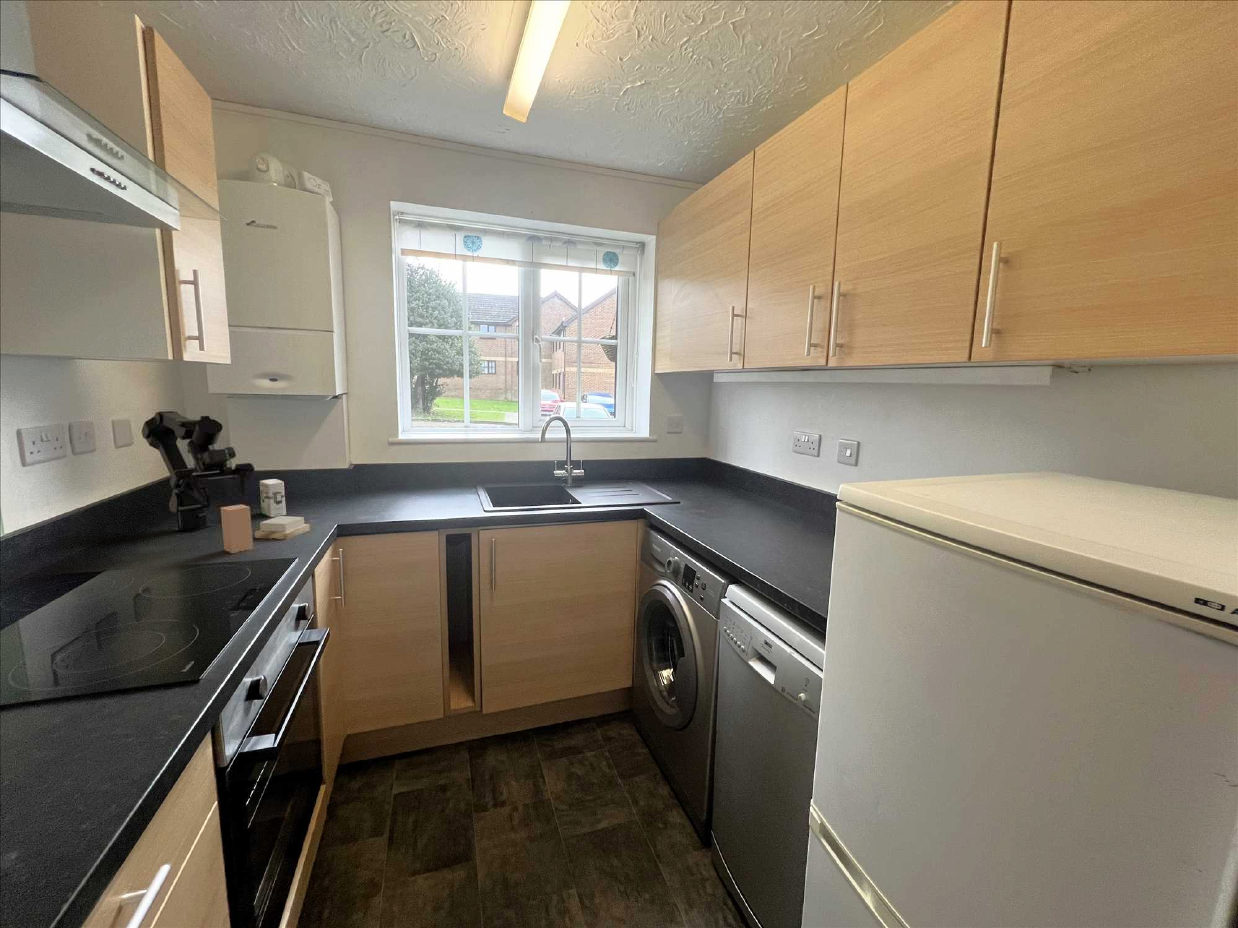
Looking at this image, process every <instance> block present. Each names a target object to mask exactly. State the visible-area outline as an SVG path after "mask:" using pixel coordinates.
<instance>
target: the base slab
mask: <svg viewBox="0 0 1238 928" xmlns="http://www.w3.org/2000/svg"><path fill="white" fill-rule="evenodd" d="M310 527H311V526H310V524H308V523H304V525H303V526H301V527H298V528H295V529H293V530H290V531H287V532H275V531H261V529H258V530H256V531H254V538H257V539H258V538H259V539H272V538H277V539H276V540H289V539H291V538H294V537H296V536H299V535H301V534H304V533H305V532H308V531H310V530H311V529H310ZM288 538H289V539H288Z"/></svg>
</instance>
